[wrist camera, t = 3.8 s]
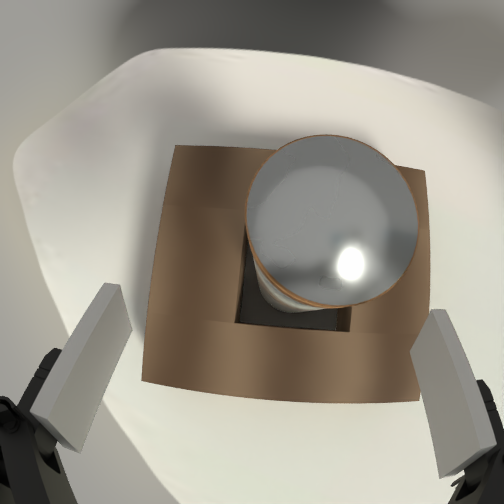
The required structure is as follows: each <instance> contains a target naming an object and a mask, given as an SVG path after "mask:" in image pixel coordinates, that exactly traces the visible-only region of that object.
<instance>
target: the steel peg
mask: <svg viewBox="0 0 504 504" xmlns="http://www.w3.org/2000/svg"><path fill="white" fill-rule="evenodd" d="M245 225H246V231H247V236H248V241H249V245H250V249H251V252H252V254H253V258H254V264H255V269H256V274H257V279H258V285H259V289H260V291H261V294H262V296H263V297H264V299H265V300H266V301H267V302H268V303H269V304H270V305H271V306H272V307H274V308H275V309H277V310H279V311H282V312H286V313H299V312H306V311H313V310H319V309H326V308H342V307H350V306H356V305H360V304H363V303H367V302H370V301H372V300H374V299H376V298H378V297H380V296H381V295H383V294H385V293H386V292H388V291H389V290H390V289H391V288H392V287H394V286H395V285H396V284H397V283H398V282H399V280H400V279H401V278H402V277H403V276H404V274H405V273H406V271H407V270H408V268H409V266H410V264H411V262H412V260H413V258H414V255H415V252H416V249H417V245H418V238H419V216H418V210H417V205H416V202H415V199H414V196H413V193H412V191H411V189H410V187H409V185H408V183H407V181H406V180H405V178H404V177H403V175H402V174H401V172H400V171H399V170H398V169H397V168H396V166H395V165H394V164H393V163H392V162H391V161H390V160H389V159H388V158H387V157H385V156H384V155H383V154H381V153H380V152H379V151H377V150H376V149H374V148H372V147H371V146H369V145H367V144H365V143H363V142H360V141H358V140H355V139H352V138H348V137H344V136H338V135H314V136H308V137H304V138H300V139H297V140H294V141H292V142H290V143H288V144H286V145H284V146H283V147H281V148H279V149H278V150H276V151H275V152H274V153H273V154H272V155H270V156H269V157H268V158H267V159H266V160H265V161H264V163H263V164H262V165H261V166H260V168H259V169H258V171H257V172H256V174H255V176H254V178H253V180H252V182H251V184H250V187H249V190H248V193H247V198H246V203H245Z"/></svg>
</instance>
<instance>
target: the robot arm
mask: <svg viewBox="0 0 504 504" xmlns="http://www.w3.org/2000/svg"><path fill="white" fill-rule="evenodd" d="M131 332H132V327H131V324H130V320H129V317H128V313H127V310H126V306H125V302H124V299H123V295H122V291H121V287H120V285H118V284H111V283H104V284H103V286H102V287H101V289H100V290H99V292H98V293H97V295H96V296H95V298H94V299H93V301H92V302H91V304H90V306H89V307H88V309H87V310H86V312H85V313H84V315H83V317H82V318H81V320H80V322H79V323H78V325H77V326H76V328H75V330H74V331H73V333H72V335H71V336H70V338H69V340H68V341H67V343H66V345H65V347H64V348H63V350H61V349H57V348H54V349H52V350H51V351H50V352H49V353H48V354H47V355H46V356H45V357H44V359H43V360H42V362H41V364H40V365H39V369H37V371H36V372H35V374H34V377H33V378H32V380H31V381H30V383H29V385H28V387H27V389H26V390H25V392H24V394H23V396H22V398H21V400H20V402H19V404H18V405H17V406H16V405H15V404H14V403H13V402H12V401H11V400H10V399H9V398H8V397H5V396H0V504H78V503H77V501H76V499H75V496H74V494H73V492H72V489H71V487H70V484H69V481H68V479H67V476H66V473H65V471H64V468H63V465H62V462H61V460H60V457H59V454H58V451H57V449H56V447H55V446H56V443H57V441H58V442H59V443H60V444H61V445H62V446H63V447H65V448H67V449H70V450H72V451H75V452H78V453H81V451H82V448H83V445H84V443H85V440H86V437H87V435H88V432H89V430H90V427H91V425H92V422H93V420H94V417H95V415H96V412H97V410H98V407H99V405H100V402H101V400H102V398H103V395H104V393H105V391H106V388H107V386H108V384H109V381H110V379H111V377H112V374H113V372H114V370H115V367H116V365H117V363H118V361H119V358H120V356H121V354H122V352H123V350H124V347H125V345H126V343H127V341H128V339H129V337H130V334H131ZM410 355H411V358H412V362H413V365H414V369H415V372H416V376H417V379H418V383H419V387H420V390H421V394H422V398H423V402H424V406H425V410H426V414H427V419H428V423H429V427H430V432H431V437H432V441H433V446H434V451H435V456H436V462H437V467H438V473H439V479H442V478H446V477H450V476H454V475H456V474H458V473H459V472H461V471H462V470H464V473H465V475H463V476H462V477H460V478H459V479H457V480H456V481H454V482H453V483H452V485H451V486H452V487H453V486H455V485H456V484H458V483H459V484H458V486H457V487H456V488H455V489H456V490H455V491H454V493H453V495H452V497H451V499H450V501H449V503H448V504H504V429H503V425H502V422H501V419H500V416H499V413H498V411H497V410H496V409H497V408H496V405H495V402H493V400H494V399H493V396H492V394H491V391H490V389H489V387H488V386H487V385H486V383H485V382H484V381H483V380H476V379H475V377H474V374H473V372H472V369H471V366H470V364H469V361H468V359H467V357H466V354H465V352H464V349H463V347H462V345H461V342H460V340H459V338H458V336H457V333H456V331H455V329H454V327H453V325H452V322H451V320H450V318H449V316H448V314H447V312H446V310H441V309H431V311H430V313H429V315H428V317H427V319H426V321H425V323H424V325H423V327H422V329H421V331H420V333H419V335H418V337H417V339H416V341H415V343H414V344H413V346H412V348H411V350H410Z"/></svg>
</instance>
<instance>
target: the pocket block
mask: <svg viewBox="0 0 504 504" xmlns="http://www.w3.org/2000/svg"><path fill="white" fill-rule="evenodd" d="M275 151H276V150H269V149H256V148H240V147H219V146H186V145H175V150H174V154H173V159H172V163H171V168H170V173H169V178H168V182H167V187H166V193H165V198H164V203H163V209H162V214H161V220H160V226H159V232H158V238H157V244H156V250H155V257H154V264H153V271H152V278H151V286H150V294H149V302H148V311H147V320H146V330H145V340H144V352H143V365H142V380H141V381H144V382H149V383H154V384H159V385H164V386H170V387H175V388H181V389H186V390H193V391H199V392H205V393H212V394H220V395H227V396H236V397H244V398H254V399H265V400H277V401H291V402H311V403H390V402H409V401H419V398H420V392H421V390H420V387H419V383H418V379H417V376H416V372H415V369H414V365H413V362H412V358H411V355H410V350H411V348H412V346H413V344H414V343H415V341H416V339H417V337H418V335H419V333H420V331H421V329H422V327H423V325H424V323H425V321H426V319H427V317H428V315H429V301H430V230H429V212H428V198H427V187H426V177H425V171H423V170H418V169H413V168H408V167H402V166H397V165H395V166H396V168H397V169H398V170H399V171H400V172H401V174H402V175H403V177H404V178H405V180H406V181H407V183H408V185H409V187H410V189H411V191H412V193H413V196H414V199H415V202H416V205H417V210H418V216H419V238H418V245H417V249H416V252H415V255H414V258H413V260H412V262H411V264H410V266H409V268H408V270H407V271H406V273H405V274H404V276H403V277H402V278H401V279H400V280H399V282H398V283H397V284H396V285H395V286H394V287H392V288H391V289H390V290H389V291H388V292H386V293H385V294H383V295H381V296H380V297H378V298H376V299H374V300H372V301H370V302H367V303H363V304H360V305H356V306H350V307H342V308H338V311H337V323H336V330H326V329H311V328H297V327H285V326H273V325H262V324H252V323H242V322H240V312H241V302H242V292H243V283H244V273H245V264H246V254H247V244H248V236H247V231H246V225H245V203H246V198H247V193H248V190H249V187H250V184H251V182H252V180H253V178H254V176H255V174H256V172H257V171H258V169H259V168H260V166H261V165H262V164H263V163H264V161H265V160H266V159H267V158H268V157H269V156H270V155H272V154H273V153H274V152H275Z"/></svg>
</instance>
